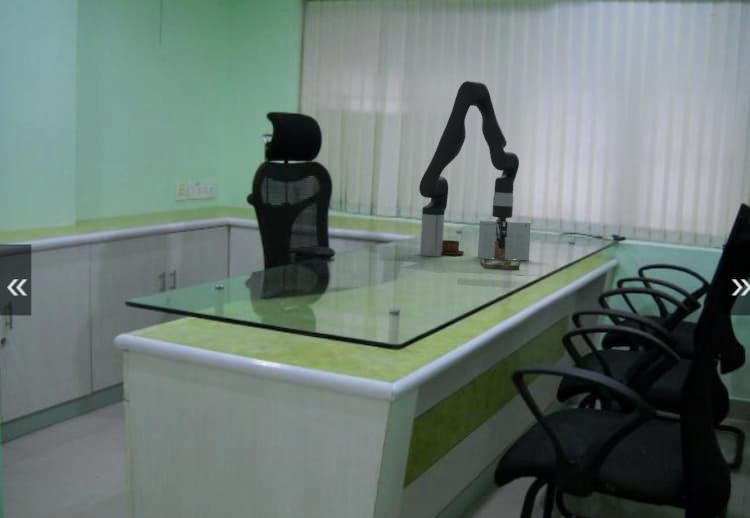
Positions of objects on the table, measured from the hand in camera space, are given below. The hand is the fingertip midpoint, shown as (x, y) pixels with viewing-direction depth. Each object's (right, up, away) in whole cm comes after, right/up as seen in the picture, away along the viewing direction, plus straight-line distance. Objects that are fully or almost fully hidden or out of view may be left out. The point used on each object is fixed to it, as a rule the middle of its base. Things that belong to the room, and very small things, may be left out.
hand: (500, 247), depth 315 cm
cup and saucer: (-16, -3, +35) cm, 39 cm away
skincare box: (+5, -5, +28) cm, 29 cm away
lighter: (0, -5, +1) cm, 5 cm away
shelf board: (0, -7, +1) cm, 7 cm away
